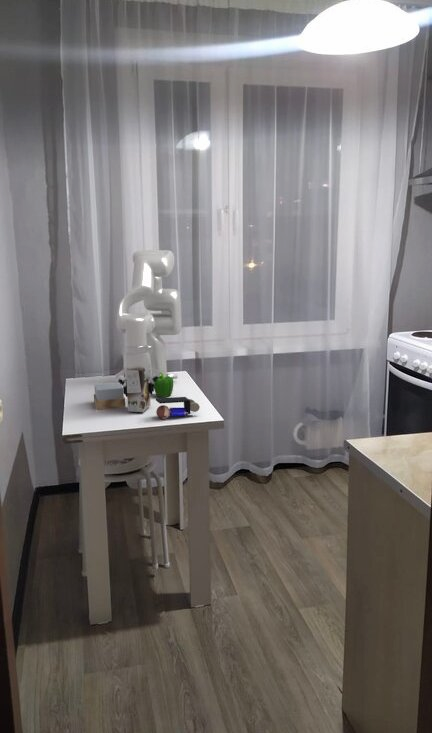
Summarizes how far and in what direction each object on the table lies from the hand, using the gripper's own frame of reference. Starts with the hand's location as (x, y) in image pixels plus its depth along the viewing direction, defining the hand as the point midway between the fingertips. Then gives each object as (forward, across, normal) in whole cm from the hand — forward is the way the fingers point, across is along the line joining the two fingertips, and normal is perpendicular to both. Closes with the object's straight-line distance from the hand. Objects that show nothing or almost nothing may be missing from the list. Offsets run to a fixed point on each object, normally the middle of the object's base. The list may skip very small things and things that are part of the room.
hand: (138, 394), depth 218 cm
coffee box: (+6, 0, 0) cm, 6 cm away
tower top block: (+3, +10, -12) cm, 16 cm away
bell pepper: (+7, -13, -17) cm, 23 cm away
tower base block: (+7, +10, -11) cm, 16 cm away
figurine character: (+6, -12, +13) cm, 18 cm away
